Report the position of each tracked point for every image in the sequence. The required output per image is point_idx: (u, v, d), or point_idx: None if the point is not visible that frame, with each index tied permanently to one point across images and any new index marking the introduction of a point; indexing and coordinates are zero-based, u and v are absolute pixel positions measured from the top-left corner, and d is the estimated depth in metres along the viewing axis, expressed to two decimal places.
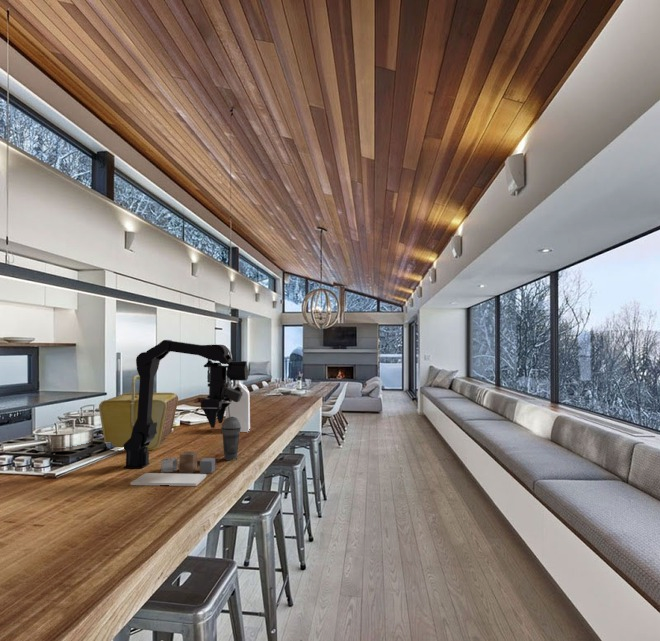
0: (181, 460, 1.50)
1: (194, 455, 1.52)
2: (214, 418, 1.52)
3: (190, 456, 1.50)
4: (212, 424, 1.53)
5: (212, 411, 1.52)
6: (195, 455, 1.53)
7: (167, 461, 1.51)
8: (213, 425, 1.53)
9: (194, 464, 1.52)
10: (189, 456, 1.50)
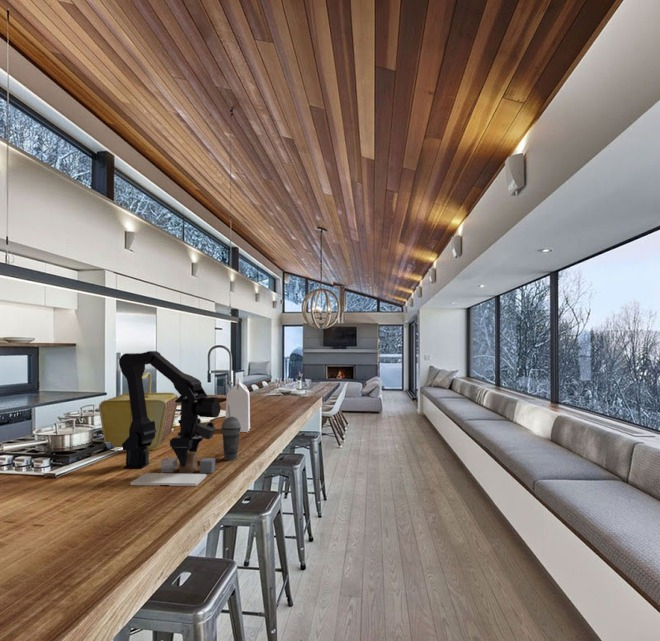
0: None
1: (194, 455, 1.52)
2: (184, 457, 1.47)
3: (190, 456, 1.50)
4: (182, 463, 1.47)
5: (182, 450, 1.47)
6: (195, 455, 1.53)
7: (167, 461, 1.51)
8: (183, 464, 1.48)
9: (194, 464, 1.52)
10: (189, 456, 1.50)
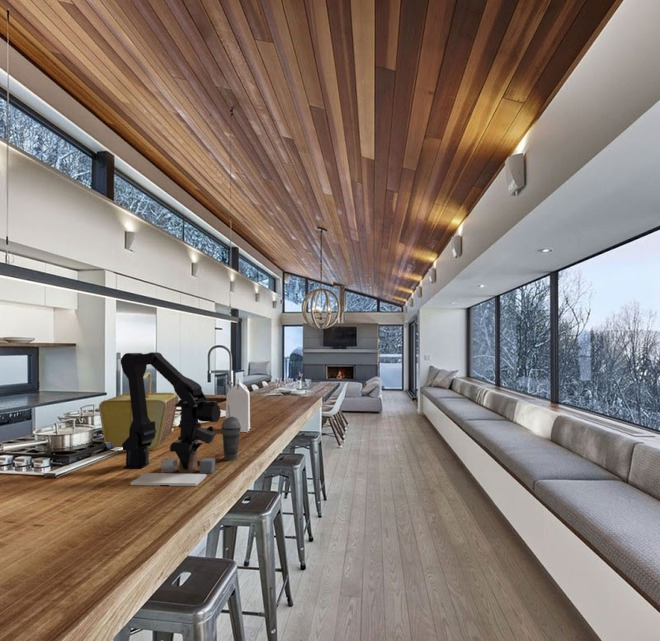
0: None
1: (194, 455, 1.52)
2: (187, 460, 1.49)
3: (190, 456, 1.50)
4: (185, 466, 1.50)
5: (185, 452, 1.49)
6: (195, 455, 1.53)
7: (167, 461, 1.51)
8: (186, 467, 1.50)
9: (194, 464, 1.52)
10: None
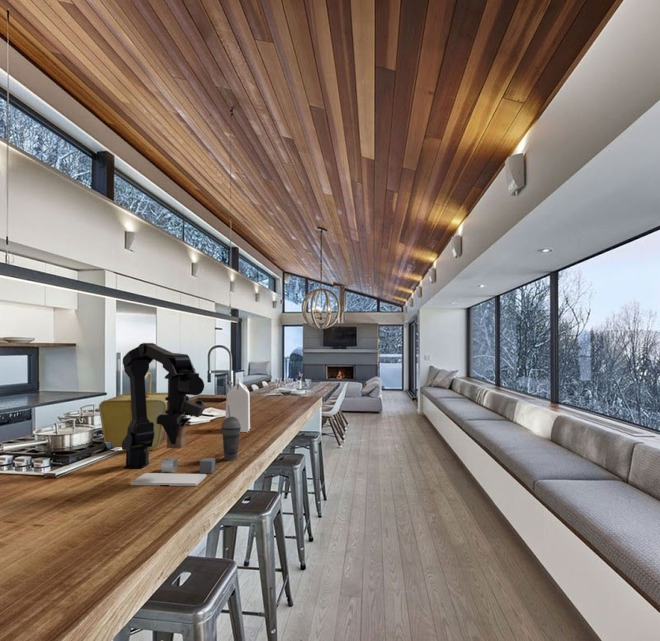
0: None
1: (182, 429, 1.44)
2: (174, 434, 1.41)
3: (178, 430, 1.43)
4: (172, 440, 1.42)
5: (172, 426, 1.41)
6: (183, 429, 1.45)
7: (167, 461, 1.51)
8: (173, 441, 1.42)
9: (182, 439, 1.44)
10: None
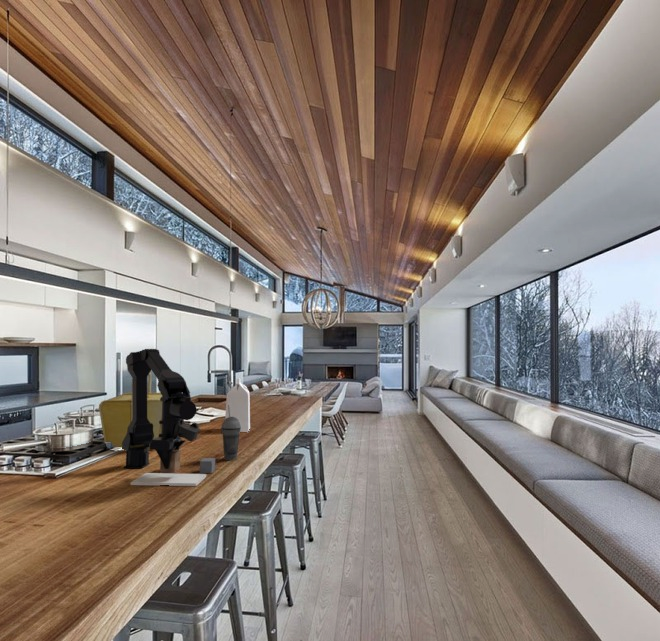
0: None
1: (176, 453, 1.41)
2: (168, 458, 1.38)
3: (172, 454, 1.40)
4: (166, 465, 1.39)
5: (166, 451, 1.38)
6: (177, 453, 1.42)
7: None
8: (167, 466, 1.39)
9: (176, 463, 1.41)
10: (171, 454, 1.40)
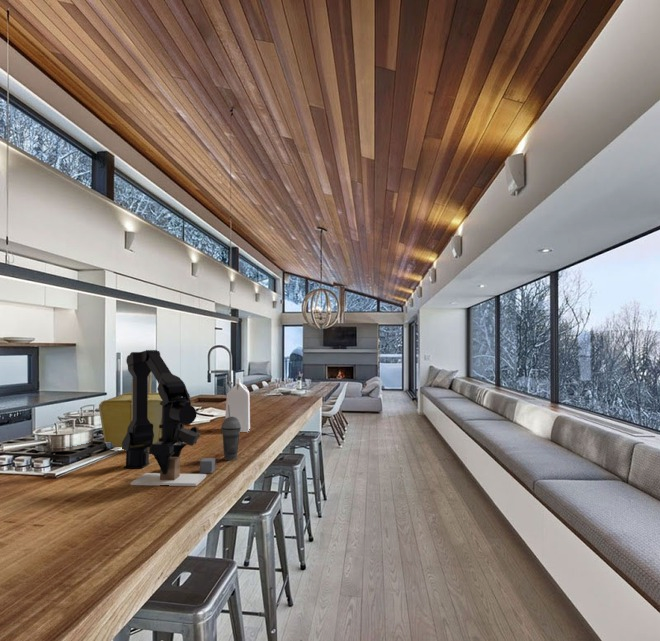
0: None
1: (176, 461, 1.41)
2: (166, 464, 1.37)
3: (172, 462, 1.40)
4: (164, 470, 1.37)
5: (164, 456, 1.37)
6: (177, 460, 1.42)
7: None
8: (165, 471, 1.38)
9: (176, 470, 1.41)
10: (171, 462, 1.40)
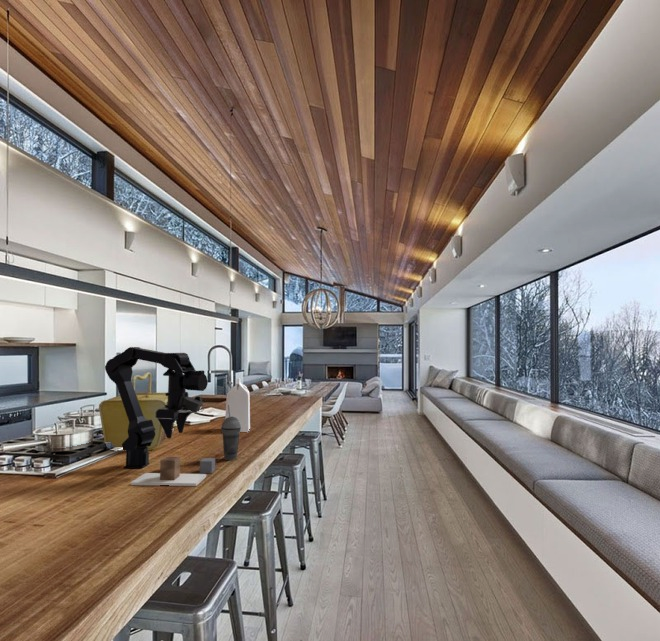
0: (162, 466, 1.40)
1: (176, 461, 1.41)
2: (170, 429, 1.48)
3: (172, 462, 1.40)
4: (168, 435, 1.49)
5: (168, 421, 1.49)
6: (177, 460, 1.42)
7: None
8: (169, 436, 1.49)
9: (176, 470, 1.41)
10: (171, 462, 1.40)
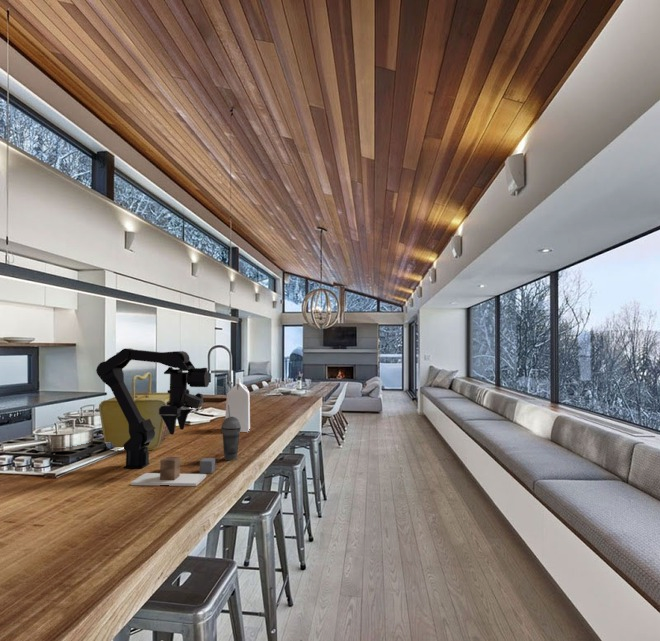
0: (162, 466, 1.40)
1: (176, 461, 1.41)
2: (173, 425, 1.53)
3: (172, 462, 1.40)
4: (171, 431, 1.53)
5: (171, 418, 1.53)
6: (177, 460, 1.42)
7: None
8: (172, 432, 1.53)
9: (176, 470, 1.41)
10: (171, 462, 1.40)
